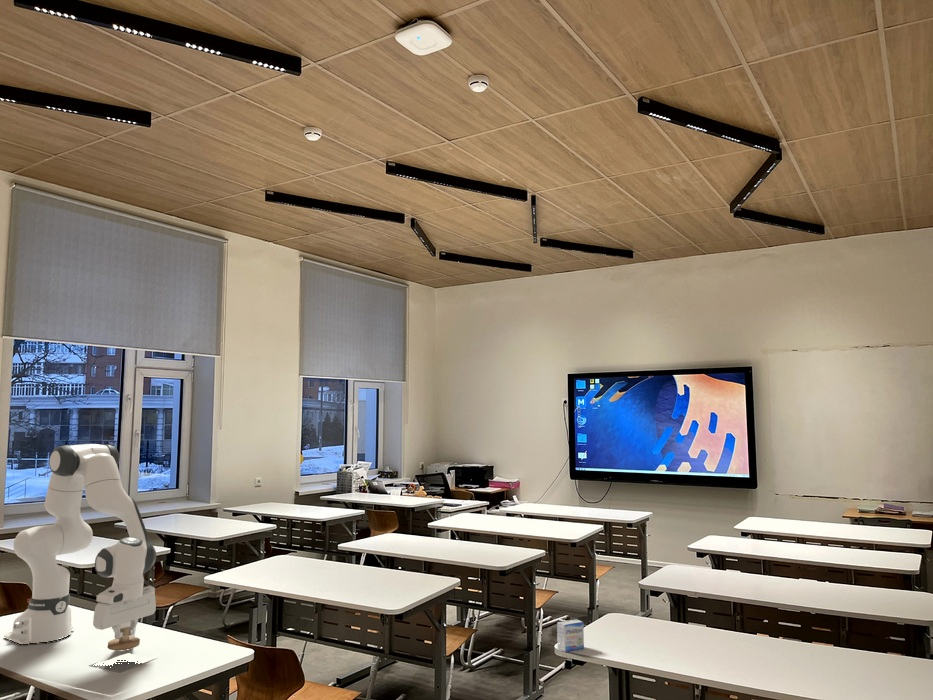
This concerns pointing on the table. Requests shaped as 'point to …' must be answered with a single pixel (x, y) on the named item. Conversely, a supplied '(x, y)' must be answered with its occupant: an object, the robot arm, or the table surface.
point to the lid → (124, 641)
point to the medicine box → (570, 635)
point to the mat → (118, 666)
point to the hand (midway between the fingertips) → (124, 636)
